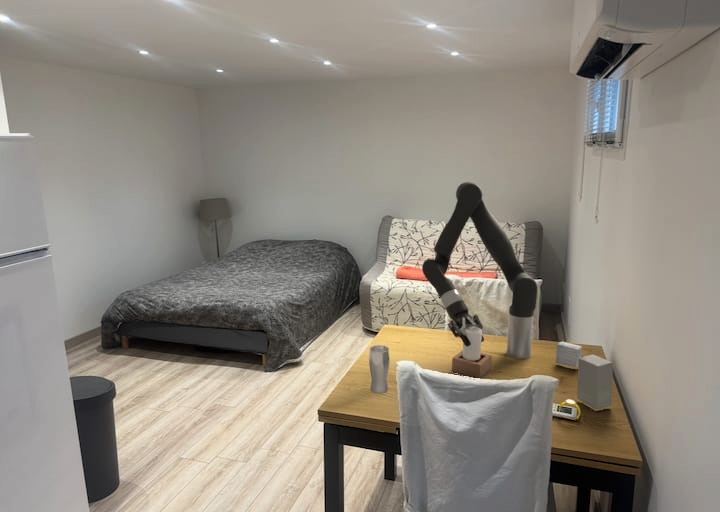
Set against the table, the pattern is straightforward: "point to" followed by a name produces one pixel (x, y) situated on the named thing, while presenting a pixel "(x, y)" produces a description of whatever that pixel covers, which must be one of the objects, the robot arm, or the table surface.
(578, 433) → the table surface
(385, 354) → the beer glass
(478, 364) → the box
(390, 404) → the table surface
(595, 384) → the skincare box
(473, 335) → the can
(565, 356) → the medicine box
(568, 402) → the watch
